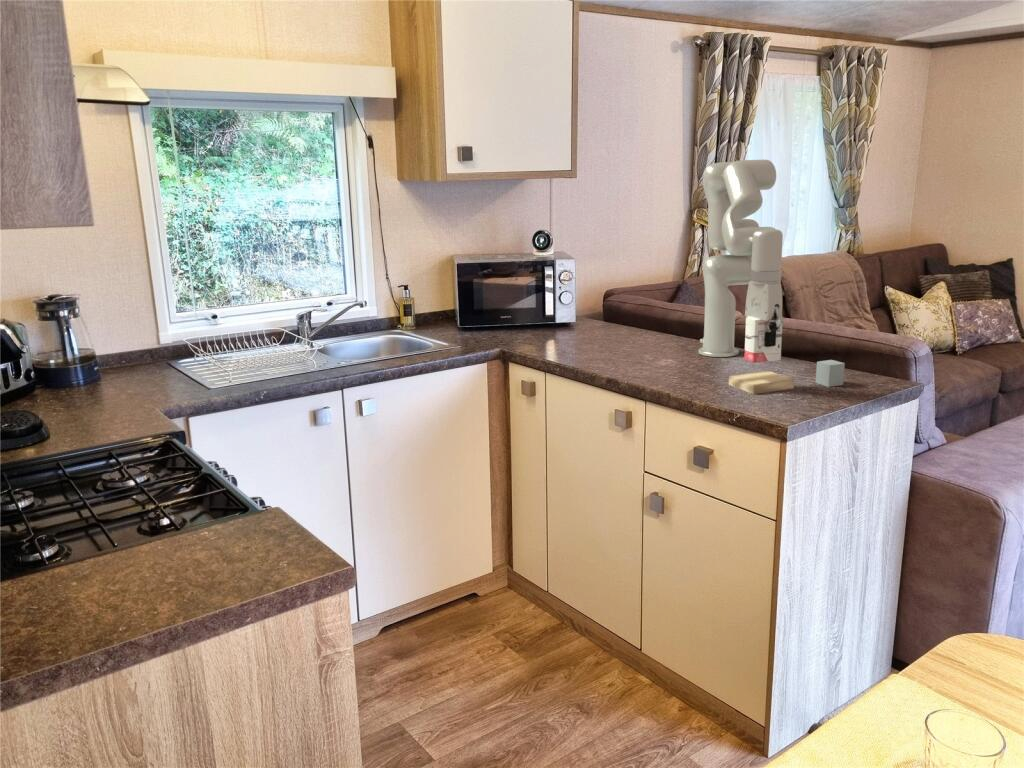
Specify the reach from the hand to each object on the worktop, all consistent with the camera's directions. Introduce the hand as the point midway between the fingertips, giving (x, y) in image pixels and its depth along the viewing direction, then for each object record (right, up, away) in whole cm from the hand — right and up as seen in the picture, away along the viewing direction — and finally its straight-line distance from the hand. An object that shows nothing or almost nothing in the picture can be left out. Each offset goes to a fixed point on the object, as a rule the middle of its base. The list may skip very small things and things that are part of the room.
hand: (762, 343), depth 215 cm
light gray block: (+19, -11, +4) cm, 22 cm away
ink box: (0, -5, +1) cm, 5 cm away
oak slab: (0, -12, +3) cm, 12 cm away
